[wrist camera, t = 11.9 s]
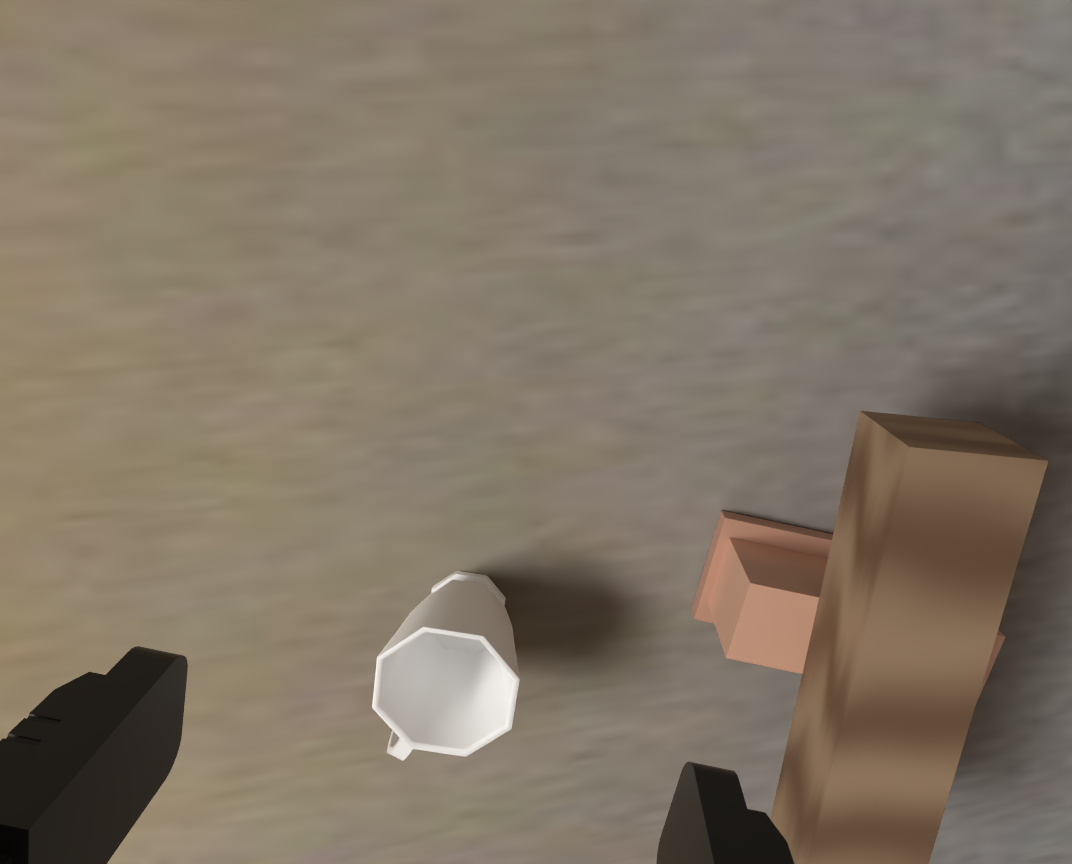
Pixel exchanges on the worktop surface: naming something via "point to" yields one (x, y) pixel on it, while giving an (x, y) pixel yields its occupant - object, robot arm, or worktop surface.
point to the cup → (449, 671)
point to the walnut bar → (902, 636)
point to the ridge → (768, 590)
